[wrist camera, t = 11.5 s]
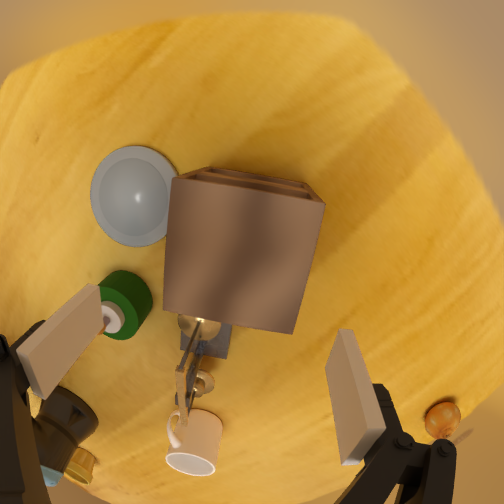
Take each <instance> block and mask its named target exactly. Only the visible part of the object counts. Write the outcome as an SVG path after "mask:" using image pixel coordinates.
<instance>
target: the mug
mask: <svg viewBox="0 0 504 504" xmlns="http://www.w3.org/2000/svg"><path fill="white" fill-rule="evenodd" d="M173 415H178V416H179V419H178V421H177V424H176V427H175V430H174V432H173V430H172V427H171V418H172V416H173ZM222 430H223V426H222V423H221V421H220V419H219V418H218V417H217V416H215V415H214V414H212V413H210V412H207V411H204V410H199V409H191V410H190V413H189V417H188V426H182V425H181V421H180V413H179V410H175V411H173V412H172V413H171V415H170V417H169V419H168V422H167V433H168V437H169V440H170V442H171V443H170V446H169V449H168V452H167V455H166V462H167V463H168V464H169V465H170V466H171V467H172V468H174V469H176V470H178V471H180V472H182V473H185V474H189V475H194V476H207V475H211V474H213V473H214V472H215V468H216V463H217V457H218V452H219V447H220V441H221V436H222Z"/></svg>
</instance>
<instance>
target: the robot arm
mask: <svg viewBox="0 0 504 504" xmlns="http://www.w3.org/2000/svg"><path fill="white" fill-rule="evenodd" d="M103 327H104V323H103V315H102V307H101V297H100V287H99V286H97V285H93V284H89V283H88V284H87V285H86V286H85V287H84V288H83V289H81V290H80V291H79V292H78V293H77V294H76V295H74V296H73V297H72V298H71V299H70V300H69V301H68V302H66V303H65V304H64V305H63V306H62V307H61V308H60V309H59V310H57V311H56V312H55V313H54V314H53V315H52V316H51V317H50V318H49V319H48V320H47V321H45V320H42V321H40V322H37V323H35V324H34V325H33V326H32V327H31V328H30V329H29V330H28V331H27V332H25V333H24V335H22V336H21V337H20V338H19V339H18V340H17V341H16V342H15V343H14V344H13V345H12V346H11V347H10V348H9V345H8V343H7V340H6V337H5V336H4V335H2V334H0V504H51V501H50V498H49V495H48V492H47V488H46V485H47V486H55V485H57V483H58V482H59V480H60V478H61V477H62V476H63V475H64V472H65V470H66V468H67V466H68V464H69V462H70V460H71V458H72V456H73V455H74V453H75V451H76V449H77V447H78V445H79V444H80V443H81V442H83V441H84V440H85V439H87V438H88V437H89V436H90V435H91V434H93V433H94V432H95V430H96V428H97V426H98V419H97V417H96V415H95V414H94V412H93V411H92V410H91V409H90V407H89V406H88V405H87V404H86V403H85V402H83V401H82V400H81V399H80V398H79V397H77V396H76V395H74V394H73V393H71V392H70V391H68V390H66V389H64V388H62V387H58V386H57V385H58V383H59V382H60V381H61V379H62V378H63V377H64V375H65V374H66V373H67V372H68V370H69V369H70V368H71V366H72V365H73V364H74V363H75V361H76V360H77V359H78V358H79V356H80V355H81V354H82V353H83V351H84V350H85V349H86V348H87V346H88V345H89V344H90V343H91V342H92V340H93V339H94V338H95V337H96V335H97V334H98V333H99V332H100V331H101V329H102V328H103ZM325 370H326V376H327V381H328V386H329V392H330V398H331V403H332V409H333V415H334V421H335V427H336V433H337V440H338V446H339V453H340V460H341V465H358V464H359V463H360V462H361V460H362V459H363V458H364V462H365V466H364V467H363V468H362V469H361V470H360V472H359V473H358V474H357V475H356V477H355V479H354V480H353V481H352V482H351V484H350V485H349V486H348V487H347V489H346V490H345V491H344V492H343V493H342V495H341V496H340V497H339V498H338V499H337V501H336V502H335V503H334V504H384V502H385V501H386V499H387V498H388V496H389V495H390V493H391V491H392V490H393V488H394V486H395V485H396V484H400V486H399V489H398V493H397V496H396V500H395V503H394V504H451V503H452V497H453V489H454V479H455V470H456V455H457V453H456V448H455V446H454V444H453V443H452V442H450V441H449V440H447V439H437V440H436V441H435V442H434V443H433V444H432V445H427V444H421V443H417V442H415V440H414V439H413V437H412V436H411V435H409V434H408V433H406V432H403V430H402V427H401V424H400V421H399V418H398V416H397V413H396V410H395V408H394V405H393V402H392V401H391V400H392V399H391V397H390V394H389V391H388V390H387V389H386V388H385V387H384V386H383V384H372V382H371V380H370V377H369V374H368V371H367V368H366V365H365V362H364V360H363V357H362V354H361V351H360V349H359V346H358V343H357V340H356V338H355V335H354V332H353V330H348V329H339V330H338V333H337V336H336V339H335V342H334V345H333V347H332V350H331V353H330V356H329V358H328V361H327V363H326V366H325ZM30 386H31V389H32V391H33V393H34V394H35V395H37V396H38V397H40V398H42V401H41V405H40V409H39V413H38V415H37V416H36V418H35V419H34V418H33V417H32V416H31V412H30V403H29V395H28V392H27V389H28V388H29V387H30Z"/></svg>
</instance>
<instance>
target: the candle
mask: <svg viewBox="0 0 504 504" xmlns="http://www.w3.org/2000/svg"><path fill="white" fill-rule="evenodd" d="M97 286H99V287H100V297H101V307H102V315H103V323H104V327H103V328H102V329H101V331H100V332H99V333H98V334H97V335H100V334H102V333H103V334H104V335H106V336H108V337H110V338H113V339H116V340H126V339H129V338H131V337H132V336H134V335H135V333H136V332H137V330H138V329H139V327H140V326H141V324H142V323H143V321H144V320H145V319H146V317H147V316H148V314H149V313H150V311H151V309H152V303H153V301H152V295H151V292H150V290H149V288H148V286H147V285H146V283H145V282H144V281H143V280H142V279H141V278H140V277H138V276H137V275H135V274H133V273H131V272H128V271H123V270H120V271H115V272H113V273H111V274H110V275H109V276H107V277H106V278H105V279H104V280H103V281H102V282H101V283H100V284H98V285H97Z"/></svg>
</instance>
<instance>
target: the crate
mask: <svg viewBox="0 0 504 504" xmlns="http://www.w3.org/2000/svg"><path fill="white" fill-rule="evenodd" d="M325 205H326V204H325V203H324V202H323V201H322V199H321V198H320V197H319V196H318V195H317V194H316V193H315V192H314V191H313V190H312V189H311V188H310V186H309V185H308V184H306V183H301V182H296V181H291V180H286V179H281V178H275V177H270V176H264V175H258V174H253V173H247V172H240V171H234V170H228V169H221V168H214V167H205V168H202V169H198V170H195V171H192V172H188V173H185V174H182V175H179V176H176V177H173V178H172V181H171V191H170V200H169V211H168V222H167V235H166V249H165V267H164V290H163V310H165V311H169V312H173V313H178V314H182V315H187V316H192V317H196V318H201V319H206V320H211V321H216V322H221V323H226V324H232V325H237V326H243V327H248V328H254V329H260V330H266V331H272V332H278V333H285V334H291V335H292V334H293V330H294V327H295V323H296V320H297V316H298V313H299V309H300V306H301V302H302V298H303V295H304V291H305V287H306V283H307V280H308V276H309V272H310V268H311V264H312V260H313V256H314V252H315V248H316V244H317V240H318V235H319V231H320V227H321V223H322V218H323V214H324V209H325Z"/></svg>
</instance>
